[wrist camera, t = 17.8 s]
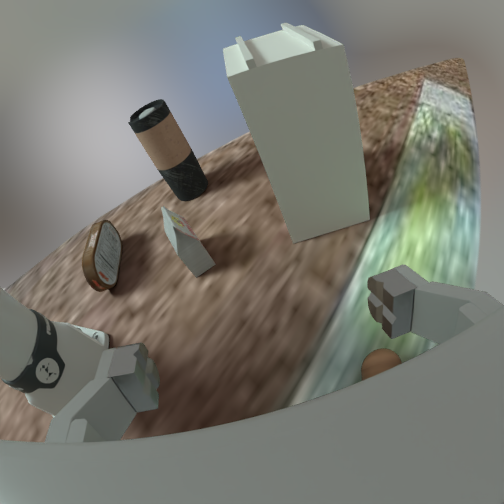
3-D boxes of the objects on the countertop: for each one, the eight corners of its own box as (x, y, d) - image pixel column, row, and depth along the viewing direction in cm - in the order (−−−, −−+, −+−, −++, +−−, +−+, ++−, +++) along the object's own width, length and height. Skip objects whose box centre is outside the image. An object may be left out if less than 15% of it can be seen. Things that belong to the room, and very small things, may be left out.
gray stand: (369, 219, 43) (341, 35, 23) (293, 243, 45) (223, 68, 26) (337, 160, 54) (300, 19, 34) (275, 179, 56) (220, 43, 36)
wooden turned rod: (405, 536, 17) (416, 548, 13) (356, 544, 18) (358, 558, 15) (399, 352, 31) (407, 335, 27) (355, 359, 32) (356, 343, 28)
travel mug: (216, 179, 62) (172, 96, 48) (193, 205, 59) (141, 121, 45) (191, 175, 67) (148, 100, 52) (169, 199, 64) (120, 124, 49)
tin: (115, 241, 62) (92, 215, 55) (127, 236, 61) (103, 209, 55) (105, 300, 52) (75, 275, 45) (118, 296, 51) (88, 269, 45)
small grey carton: (196, 277, 48) (163, 237, 40) (182, 253, 52) (151, 213, 45) (215, 264, 48) (185, 221, 41) (199, 240, 53) (171, 199, 45)
